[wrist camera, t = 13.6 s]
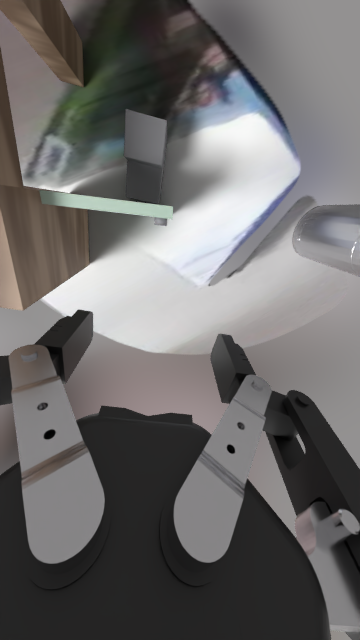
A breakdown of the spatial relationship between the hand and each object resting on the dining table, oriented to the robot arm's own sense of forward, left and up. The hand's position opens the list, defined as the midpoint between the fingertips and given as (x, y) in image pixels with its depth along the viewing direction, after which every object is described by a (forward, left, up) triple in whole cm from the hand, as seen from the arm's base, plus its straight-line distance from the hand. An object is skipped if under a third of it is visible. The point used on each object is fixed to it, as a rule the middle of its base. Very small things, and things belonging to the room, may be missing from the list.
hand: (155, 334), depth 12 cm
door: (+7, -6, -29) cm, 30 cm away
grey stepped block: (+5, -12, -29) cm, 32 cm away
